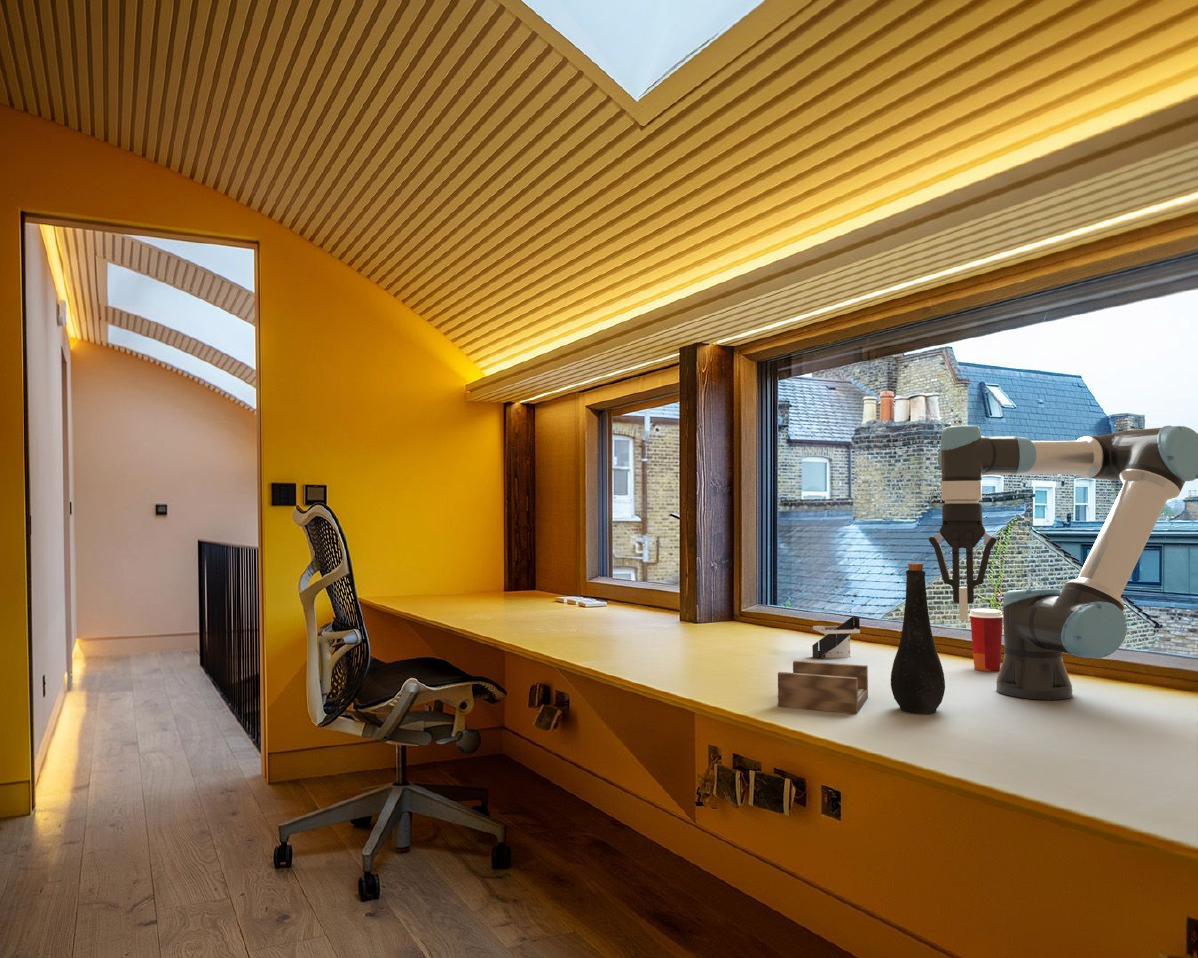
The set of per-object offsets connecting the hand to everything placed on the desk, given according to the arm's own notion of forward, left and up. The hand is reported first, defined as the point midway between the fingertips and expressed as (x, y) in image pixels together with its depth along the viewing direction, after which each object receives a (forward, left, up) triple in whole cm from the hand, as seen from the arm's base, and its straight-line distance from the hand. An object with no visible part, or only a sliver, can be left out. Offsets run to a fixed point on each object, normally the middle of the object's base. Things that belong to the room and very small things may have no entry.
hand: (963, 619), depth 177 cm
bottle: (+9, 0, -19) cm, 21 cm away
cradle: (+28, 0, -19) cm, 34 cm away
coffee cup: (-3, -53, -19) cm, 57 cm away
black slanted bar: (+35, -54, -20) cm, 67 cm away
